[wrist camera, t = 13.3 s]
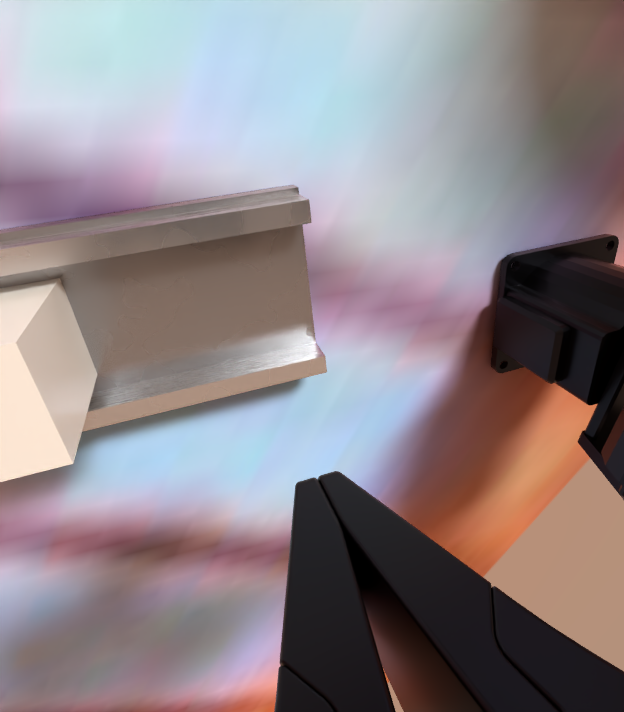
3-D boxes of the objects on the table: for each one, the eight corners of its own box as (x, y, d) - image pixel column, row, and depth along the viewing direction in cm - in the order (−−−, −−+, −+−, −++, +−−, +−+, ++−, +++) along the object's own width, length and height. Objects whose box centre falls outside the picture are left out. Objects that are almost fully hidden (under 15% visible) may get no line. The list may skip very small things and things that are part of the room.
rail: (292, 184, 17) (359, 216, 11) (312, 354, 21) (371, 445, 15) (-347, 283, 14) (-752, 409, 8) (-186, 471, 17) (-372, 656, 11)
